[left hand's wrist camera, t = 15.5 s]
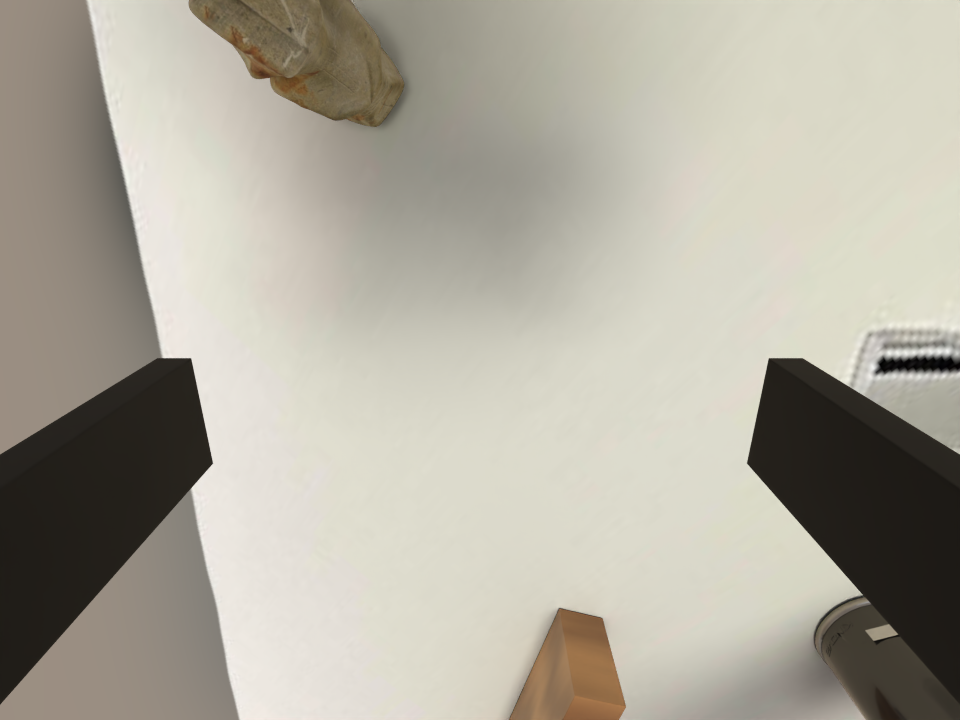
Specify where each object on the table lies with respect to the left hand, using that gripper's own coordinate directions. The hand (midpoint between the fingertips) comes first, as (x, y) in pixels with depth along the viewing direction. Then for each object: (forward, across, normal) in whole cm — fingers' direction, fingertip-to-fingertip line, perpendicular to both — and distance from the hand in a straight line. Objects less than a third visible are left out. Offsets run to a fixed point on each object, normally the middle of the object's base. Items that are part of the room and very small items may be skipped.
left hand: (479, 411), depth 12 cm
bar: (+28, +6, -49) cm, 57 cm away
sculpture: (+28, -8, +11) cm, 32 cm away
